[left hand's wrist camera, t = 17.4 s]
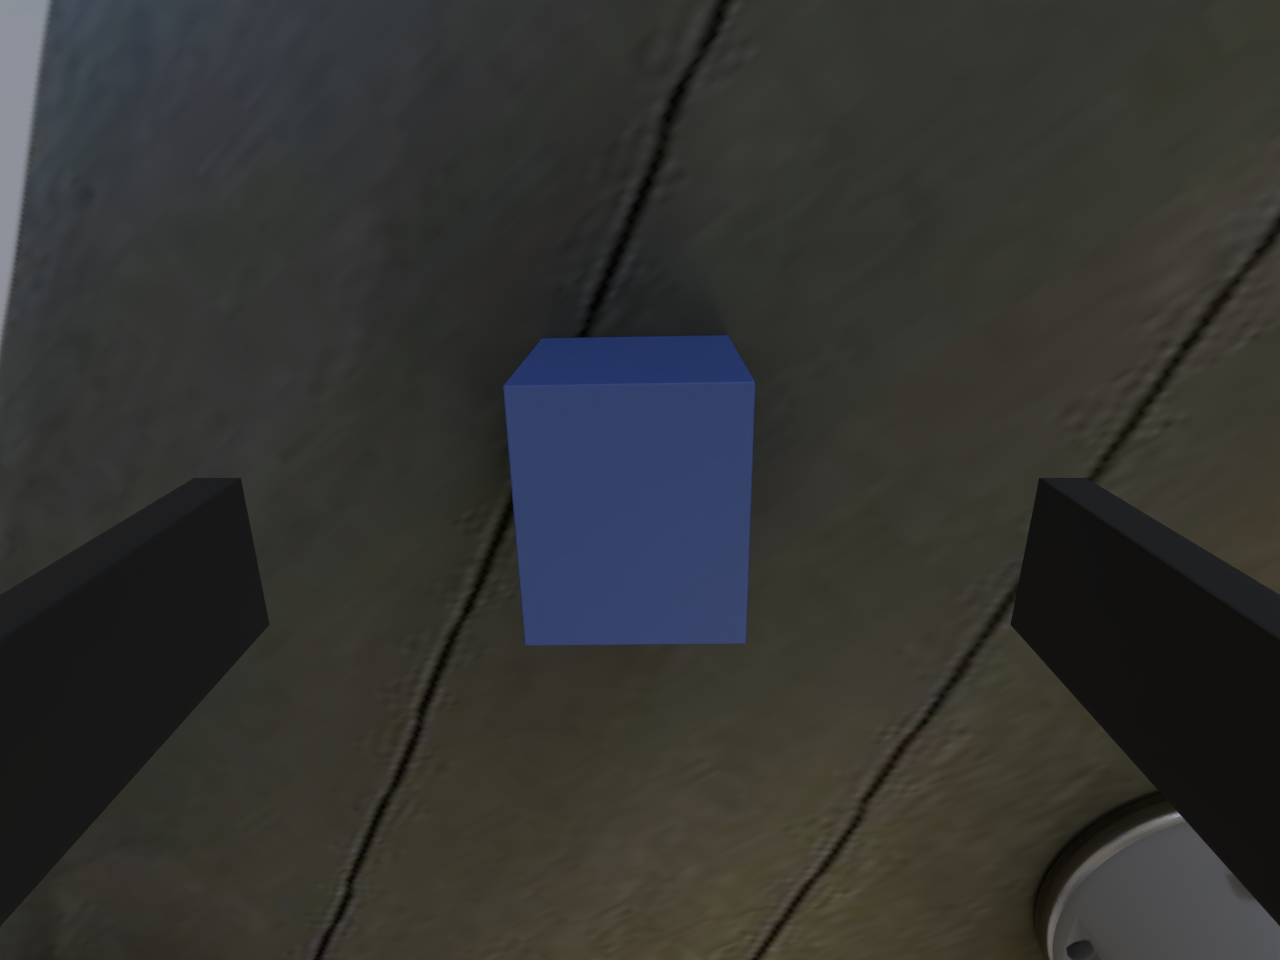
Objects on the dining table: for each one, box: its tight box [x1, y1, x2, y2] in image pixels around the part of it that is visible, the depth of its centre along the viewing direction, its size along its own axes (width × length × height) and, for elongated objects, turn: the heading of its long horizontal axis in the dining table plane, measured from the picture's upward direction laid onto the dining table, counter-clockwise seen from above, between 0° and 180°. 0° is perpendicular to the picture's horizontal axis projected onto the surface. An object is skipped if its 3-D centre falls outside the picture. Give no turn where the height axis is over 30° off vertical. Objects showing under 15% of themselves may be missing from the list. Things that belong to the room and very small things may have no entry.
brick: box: [503, 335, 755, 645], centre depth 27 cm, size 7×9×8 cm
